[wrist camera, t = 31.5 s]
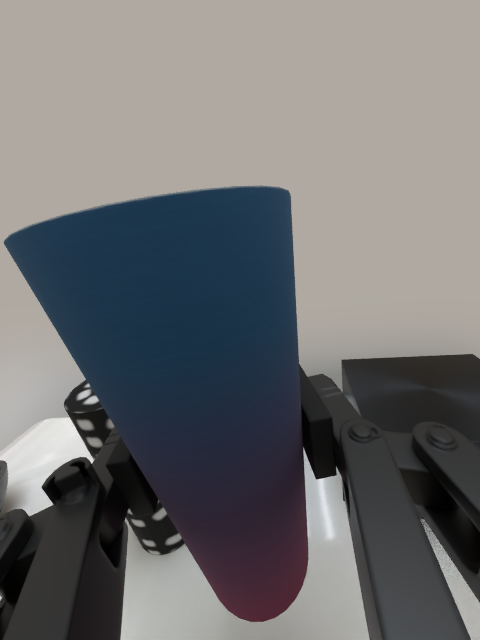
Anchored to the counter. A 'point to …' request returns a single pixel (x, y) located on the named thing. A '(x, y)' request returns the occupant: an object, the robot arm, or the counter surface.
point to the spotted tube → (94, 431)
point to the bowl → (3, 481)
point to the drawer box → (416, 392)
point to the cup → (193, 367)
